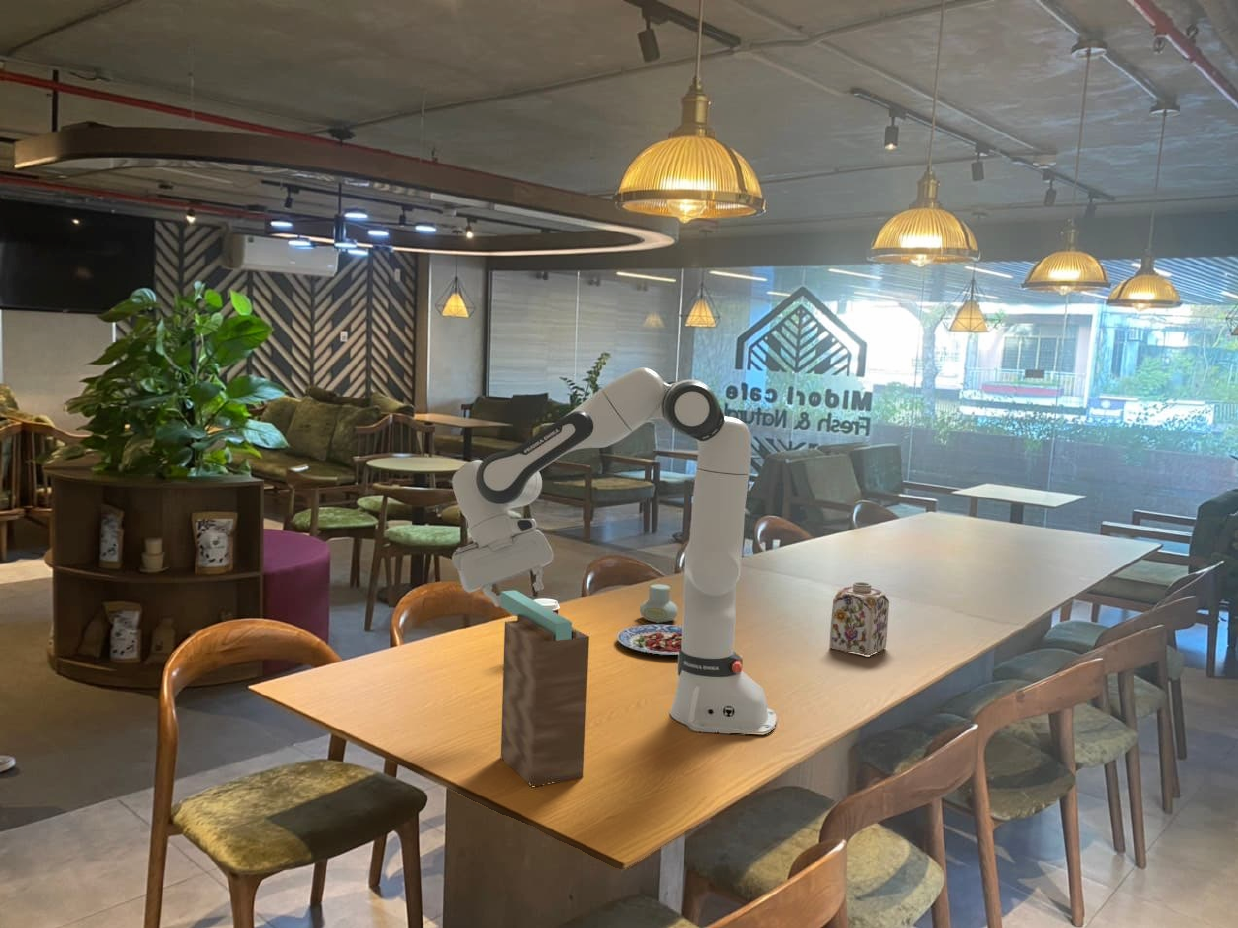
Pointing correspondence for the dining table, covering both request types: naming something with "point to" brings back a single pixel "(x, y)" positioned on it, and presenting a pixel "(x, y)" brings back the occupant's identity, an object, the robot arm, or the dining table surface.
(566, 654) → the walnut stand
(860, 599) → the decorative jar
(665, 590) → the air freshener
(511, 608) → the teal rod
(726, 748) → the dining table surface
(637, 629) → the ceramic plate
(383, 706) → the dining table surface
